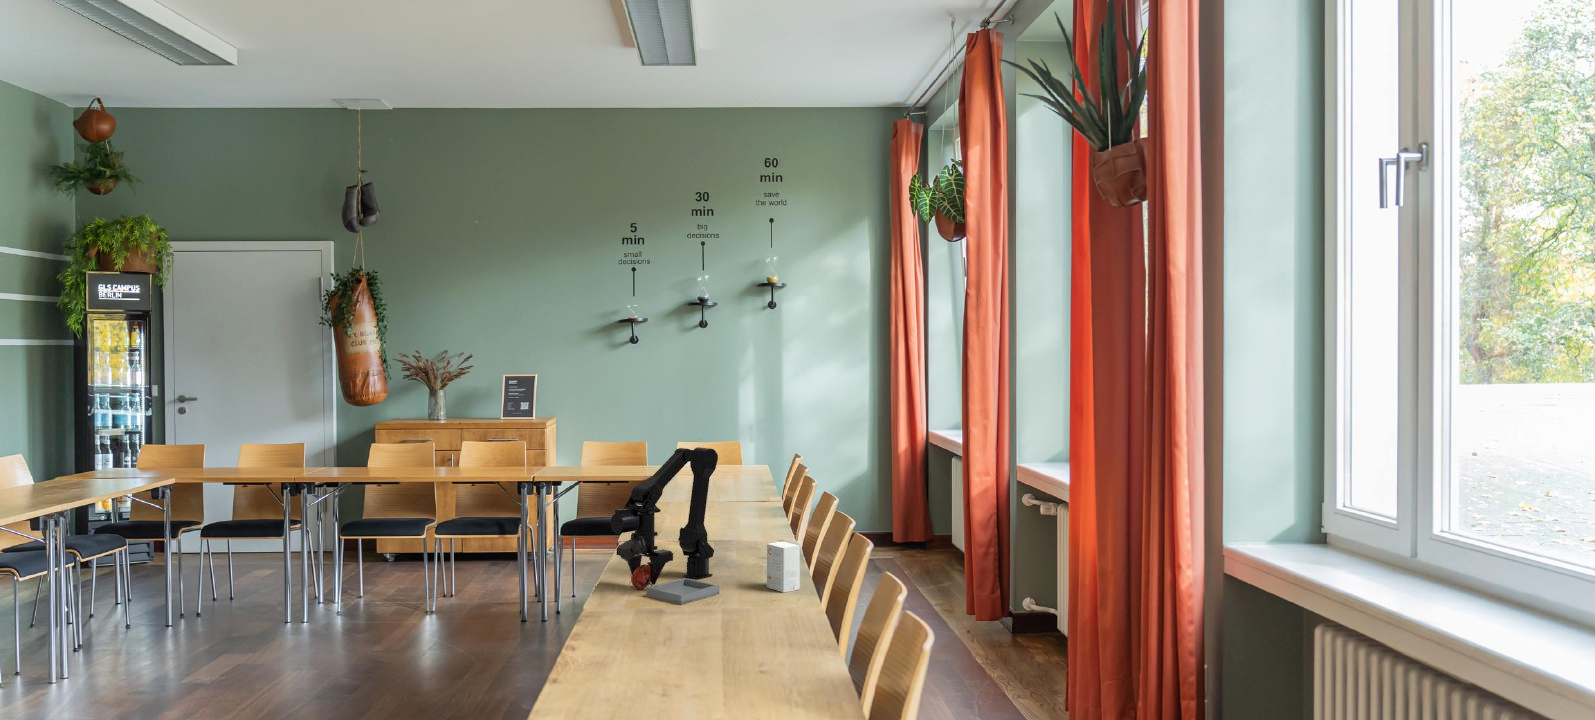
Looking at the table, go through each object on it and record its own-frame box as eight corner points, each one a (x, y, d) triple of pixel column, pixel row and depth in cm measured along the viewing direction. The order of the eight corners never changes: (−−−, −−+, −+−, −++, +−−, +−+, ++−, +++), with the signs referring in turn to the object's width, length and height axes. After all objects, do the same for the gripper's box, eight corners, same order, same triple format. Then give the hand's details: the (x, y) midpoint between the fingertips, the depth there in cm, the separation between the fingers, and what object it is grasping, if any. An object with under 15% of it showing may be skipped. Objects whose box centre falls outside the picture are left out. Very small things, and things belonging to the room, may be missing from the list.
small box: (800, 589, 274) (800, 545, 274) (783, 593, 270) (783, 547, 270) (783, 584, 280) (783, 540, 280) (766, 587, 276) (766, 543, 276)
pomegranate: (658, 593, 277) (636, 570, 281) (669, 576, 274) (647, 553, 278) (642, 602, 271) (620, 578, 274) (653, 584, 268) (630, 560, 271)
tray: (684, 586, 277) (684, 577, 277) (719, 593, 269) (719, 585, 269) (646, 596, 266) (646, 587, 266) (681, 604, 257) (681, 595, 257)
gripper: (602, 529, 274) (601, 582, 274) (645, 537, 262) (645, 592, 262) (631, 523, 283) (631, 575, 283) (674, 531, 271) (674, 585, 271)
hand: (644, 582), depth 274 cm, fingers open, 7 cm apart
